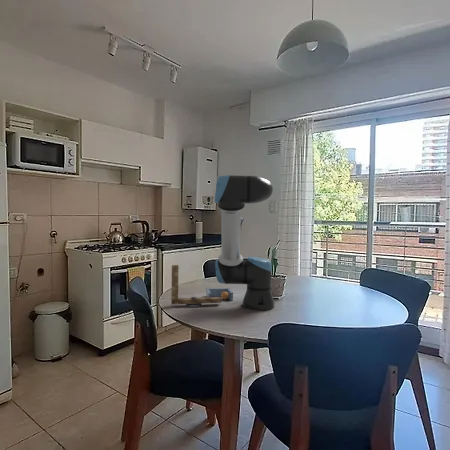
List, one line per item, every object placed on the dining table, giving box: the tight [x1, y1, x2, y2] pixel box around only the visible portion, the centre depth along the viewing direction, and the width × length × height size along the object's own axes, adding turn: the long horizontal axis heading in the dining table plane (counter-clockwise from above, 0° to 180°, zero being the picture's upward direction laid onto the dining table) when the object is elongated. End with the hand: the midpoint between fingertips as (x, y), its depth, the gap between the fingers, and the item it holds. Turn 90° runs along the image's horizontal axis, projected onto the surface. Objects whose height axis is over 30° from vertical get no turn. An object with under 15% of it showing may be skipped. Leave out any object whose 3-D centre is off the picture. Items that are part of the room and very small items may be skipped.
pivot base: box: [185, 303, 202, 308], centre depth 163 cm, size 7×7×1 cm
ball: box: [220, 292, 229, 300], centre depth 175 cm, size 4×4×4 cm
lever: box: [170, 264, 222, 305], centre depth 163 cm, size 24×3×18 cm, turn 101°
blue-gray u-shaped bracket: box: [205, 287, 234, 301], centre depth 177 cm, size 10×12×4 cm
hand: (233, 247), depth 195 cm, fingers closed
